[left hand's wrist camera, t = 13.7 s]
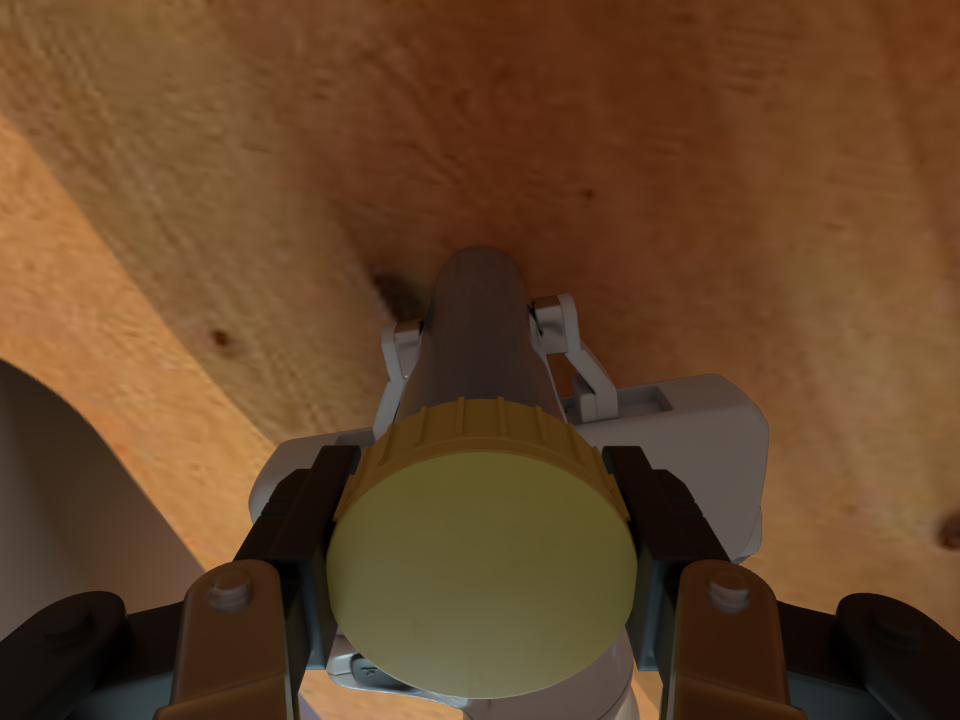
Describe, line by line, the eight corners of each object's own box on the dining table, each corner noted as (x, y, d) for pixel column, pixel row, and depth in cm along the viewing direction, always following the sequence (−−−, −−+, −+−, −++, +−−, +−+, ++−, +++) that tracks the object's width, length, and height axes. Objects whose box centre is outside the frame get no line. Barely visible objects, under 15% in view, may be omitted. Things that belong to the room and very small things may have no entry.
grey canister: (450, 341, 29) (401, 680, 11) (425, 259, 27) (318, 493, 9) (533, 320, 28) (626, 635, 10) (512, 236, 27) (579, 432, 9)
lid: (394, 643, 12) (380, 725, 10) (304, 432, 10) (269, 490, 9) (638, 592, 12) (665, 670, 10) (588, 362, 10) (611, 409, 8)
